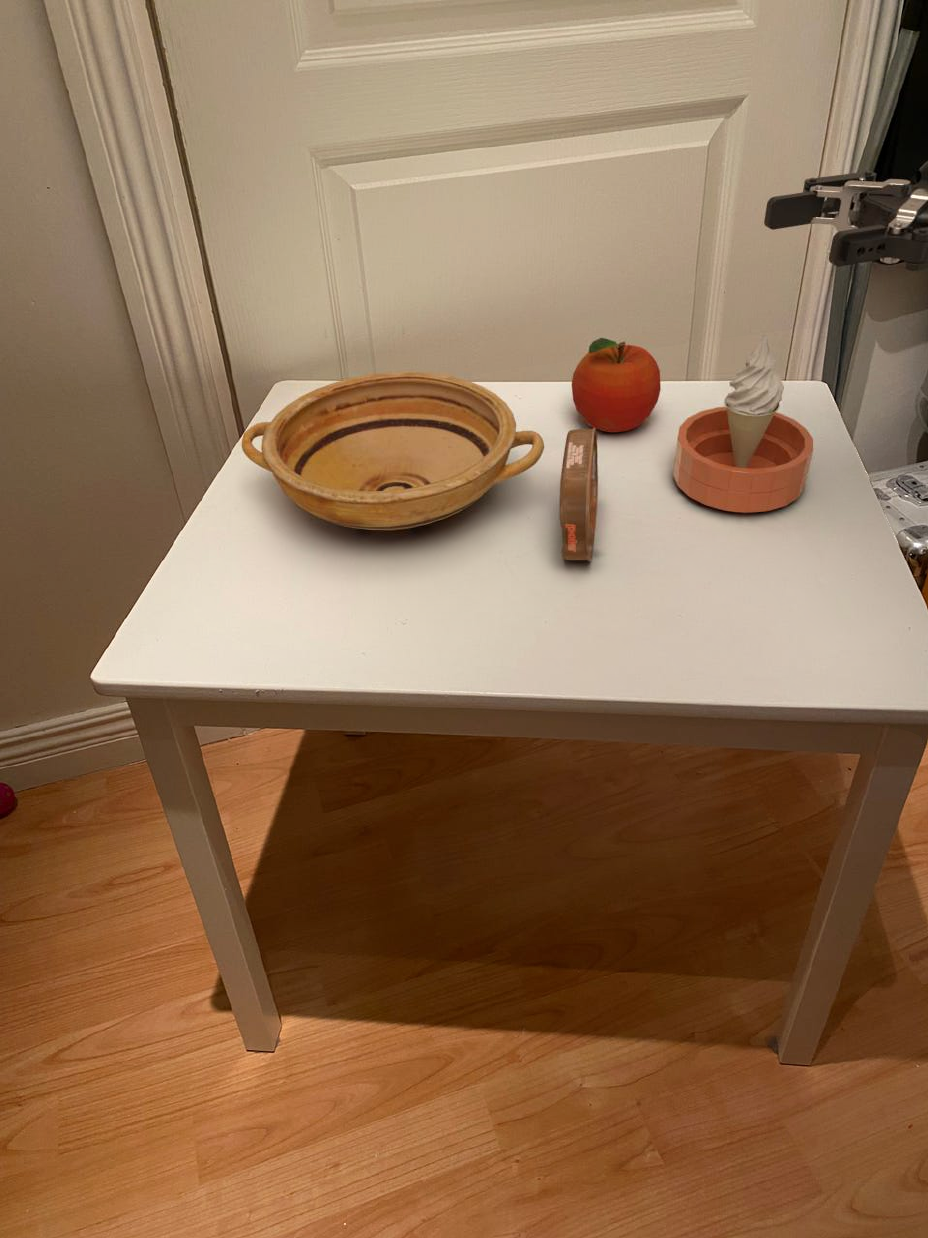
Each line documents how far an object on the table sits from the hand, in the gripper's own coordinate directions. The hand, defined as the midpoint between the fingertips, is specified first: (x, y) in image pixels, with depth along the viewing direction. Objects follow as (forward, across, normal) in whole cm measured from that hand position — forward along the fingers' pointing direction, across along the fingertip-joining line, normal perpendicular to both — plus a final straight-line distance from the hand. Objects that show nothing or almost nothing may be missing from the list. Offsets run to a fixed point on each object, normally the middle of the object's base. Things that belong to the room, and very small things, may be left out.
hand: (799, 231), depth 68 cm
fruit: (+2, -25, +28) cm, 37 cm away
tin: (+13, -7, +28) cm, 32 cm away
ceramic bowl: (+28, -19, +28) cm, 44 cm away
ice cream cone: (-5, -9, +27) cm, 29 cm away
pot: (-5, -9, +28) cm, 30 cm away
